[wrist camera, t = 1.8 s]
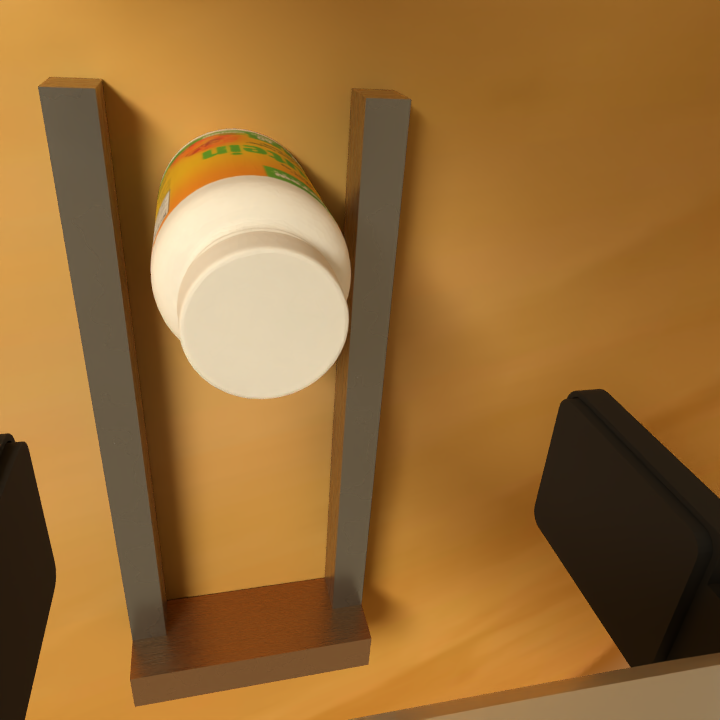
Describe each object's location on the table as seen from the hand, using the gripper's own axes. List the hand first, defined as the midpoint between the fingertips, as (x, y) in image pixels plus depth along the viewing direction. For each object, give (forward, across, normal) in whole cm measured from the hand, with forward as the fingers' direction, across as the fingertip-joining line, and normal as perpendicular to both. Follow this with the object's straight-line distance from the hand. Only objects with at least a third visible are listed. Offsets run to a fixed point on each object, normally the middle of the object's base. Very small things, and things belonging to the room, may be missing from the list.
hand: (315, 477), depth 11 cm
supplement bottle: (+15, 0, -1) cm, 15 cm away
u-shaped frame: (+14, 0, +8) cm, 17 cm away
